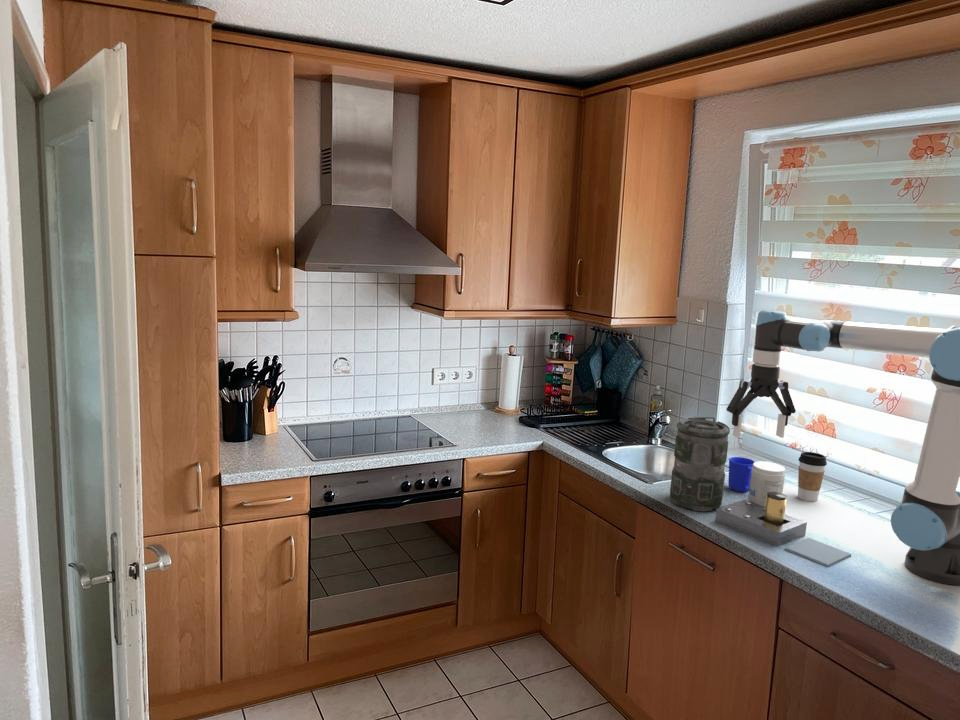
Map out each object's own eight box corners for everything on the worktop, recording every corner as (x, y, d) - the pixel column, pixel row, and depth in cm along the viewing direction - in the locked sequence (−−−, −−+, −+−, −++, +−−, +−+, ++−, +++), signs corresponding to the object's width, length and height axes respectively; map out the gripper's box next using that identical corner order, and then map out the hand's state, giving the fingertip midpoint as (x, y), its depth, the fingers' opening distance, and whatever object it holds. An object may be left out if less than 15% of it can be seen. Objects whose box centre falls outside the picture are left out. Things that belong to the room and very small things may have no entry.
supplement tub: (741, 505, 225) (746, 460, 222) (770, 505, 226) (775, 460, 223) (755, 517, 215) (761, 470, 213) (785, 517, 216) (791, 471, 214)
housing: (805, 535, 204) (807, 520, 203) (777, 546, 195) (779, 531, 195) (743, 511, 219) (744, 498, 219) (715, 521, 211) (716, 507, 210)
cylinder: (785, 532, 204) (790, 496, 202) (775, 536, 201) (780, 499, 199) (769, 526, 208) (773, 490, 206) (758, 530, 205) (763, 493, 203)
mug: (740, 498, 231) (744, 468, 229) (721, 485, 243) (724, 457, 241) (763, 497, 233) (767, 468, 231) (743, 484, 244) (746, 456, 243)
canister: (684, 513, 216) (694, 424, 211) (660, 494, 231) (668, 410, 226) (731, 511, 219) (741, 423, 215) (704, 492, 235) (713, 409, 230)
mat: (851, 556, 192) (851, 554, 191) (827, 566, 184) (828, 564, 184) (808, 539, 201) (808, 537, 201) (784, 549, 194) (784, 547, 194)
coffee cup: (793, 499, 232) (798, 455, 229) (794, 491, 240) (799, 448, 237) (821, 504, 229) (827, 459, 226) (821, 496, 236) (827, 453, 233)
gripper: (798, 362, 210) (790, 432, 214) (719, 361, 206) (711, 433, 210) (814, 367, 203) (805, 439, 206) (732, 366, 199) (724, 440, 202)
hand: (758, 436), depth 208 cm, fingers open, 13 cm apart
